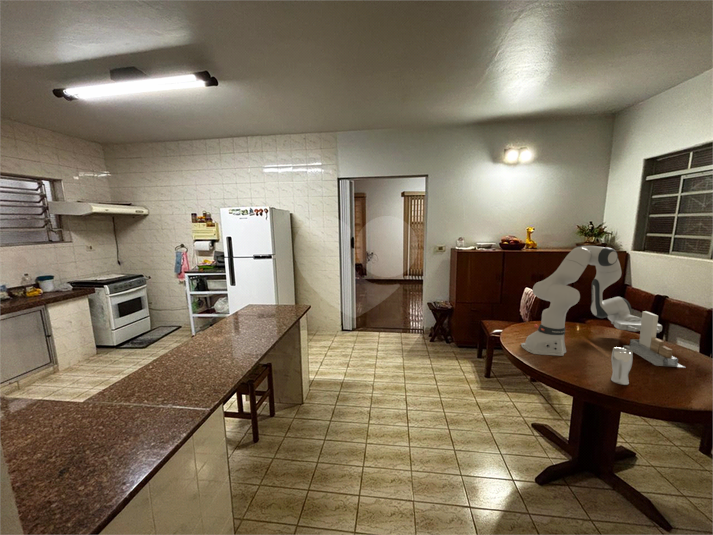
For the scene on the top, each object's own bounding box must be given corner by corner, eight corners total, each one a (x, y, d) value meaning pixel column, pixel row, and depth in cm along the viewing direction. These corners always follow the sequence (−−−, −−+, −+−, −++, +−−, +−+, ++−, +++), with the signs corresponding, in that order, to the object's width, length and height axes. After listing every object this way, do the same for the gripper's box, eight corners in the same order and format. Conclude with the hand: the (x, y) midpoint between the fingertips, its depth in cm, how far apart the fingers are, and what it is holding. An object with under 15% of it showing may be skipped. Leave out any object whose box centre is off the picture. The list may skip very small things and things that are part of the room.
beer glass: (633, 383, 128) (636, 351, 126) (624, 386, 126) (627, 354, 124) (615, 376, 135) (617, 346, 133) (606, 379, 132) (608, 348, 130)
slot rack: (655, 368, 141) (656, 357, 141) (622, 347, 165) (623, 338, 165) (685, 370, 138) (687, 359, 138) (647, 349, 162) (648, 340, 162)
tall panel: (649, 355, 152) (653, 315, 149) (638, 349, 160) (642, 311, 157) (653, 355, 151) (658, 315, 149) (642, 349, 159) (647, 311, 156)
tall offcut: (657, 359, 147) (659, 341, 145) (649, 355, 151) (651, 337, 150) (661, 360, 146) (664, 341, 145) (654, 356, 151) (656, 338, 150)
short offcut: (665, 364, 141) (667, 349, 140) (657, 360, 146) (659, 345, 145) (670, 365, 141) (672, 349, 140) (662, 360, 146) (664, 345, 145)
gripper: (609, 316, 170) (624, 324, 157) (651, 318, 165) (670, 326, 152) (608, 326, 171) (623, 335, 157) (650, 328, 166) (669, 337, 152)
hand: (647, 330), depth 155 cm, fingers open, 8 cm apart
